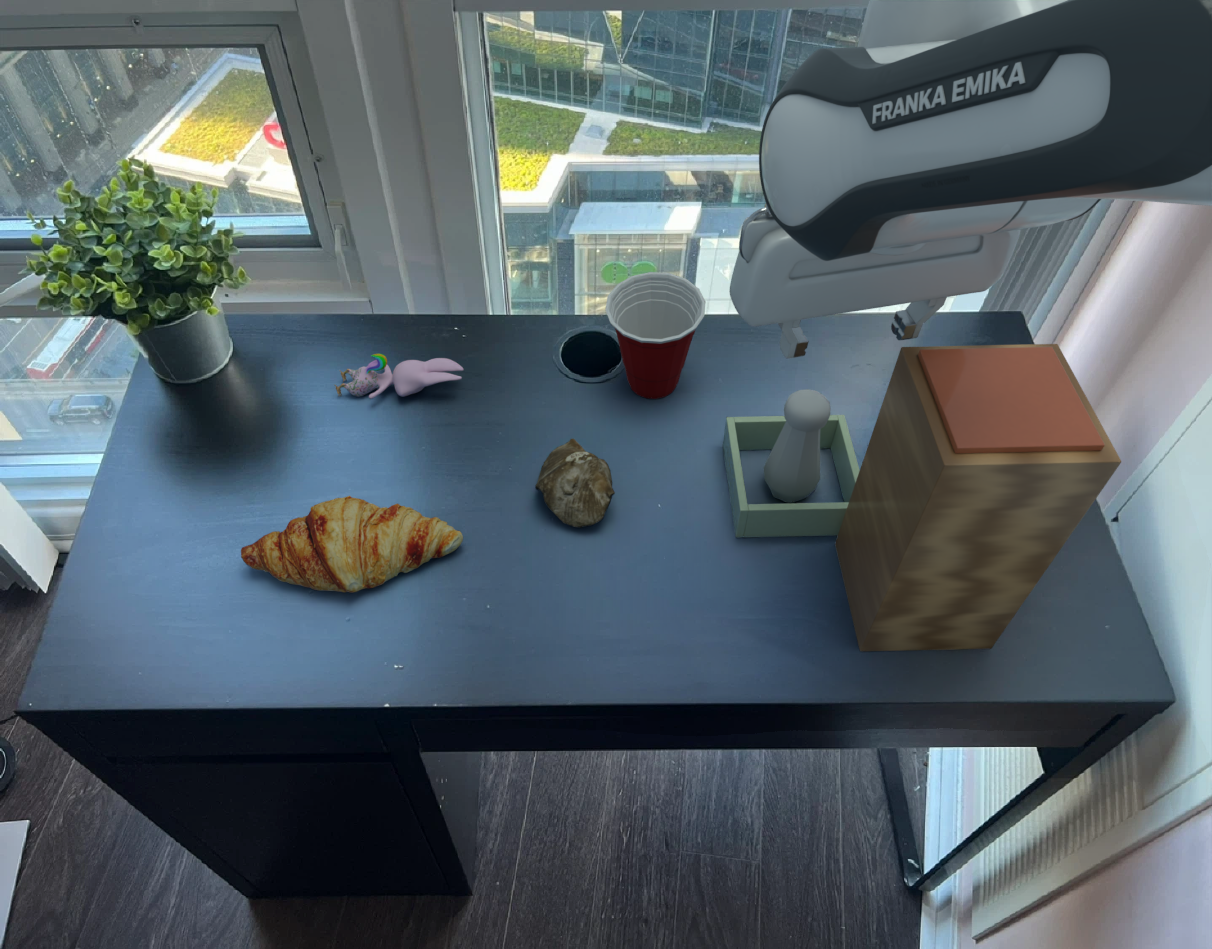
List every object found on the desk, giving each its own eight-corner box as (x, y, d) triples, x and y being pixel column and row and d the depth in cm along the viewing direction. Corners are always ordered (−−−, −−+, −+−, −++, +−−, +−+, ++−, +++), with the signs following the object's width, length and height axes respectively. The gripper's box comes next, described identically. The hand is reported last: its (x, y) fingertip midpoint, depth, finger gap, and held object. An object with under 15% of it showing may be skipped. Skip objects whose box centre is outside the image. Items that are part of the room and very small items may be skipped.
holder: (836, 442, 93) (844, 414, 89) (860, 535, 85) (870, 507, 81) (722, 445, 93) (726, 416, 89) (735, 537, 85) (740, 510, 81)
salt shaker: (803, 518, 86) (827, 431, 76) (752, 496, 88) (768, 409, 78) (823, 479, 89) (849, 392, 80) (773, 459, 91) (792, 371, 81)
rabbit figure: (340, 415, 98) (463, 403, 96) (318, 378, 94) (446, 364, 92) (353, 378, 102) (470, 365, 100) (332, 341, 98) (455, 327, 96)
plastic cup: (594, 404, 97) (591, 323, 88) (622, 345, 104) (622, 264, 95) (684, 425, 95) (691, 344, 86) (708, 363, 101) (716, 282, 92)
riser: (954, 541, 84) (1057, 343, 64) (991, 649, 76) (1122, 461, 57) (834, 543, 84) (901, 346, 64) (859, 651, 76) (944, 465, 57)
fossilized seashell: (632, 510, 84) (608, 450, 92) (595, 474, 80) (573, 414, 87) (572, 550, 86) (554, 488, 93) (533, 517, 81) (517, 454, 89)
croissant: (468, 543, 89) (459, 473, 86) (466, 590, 80) (455, 513, 77) (261, 566, 87) (245, 495, 84) (234, 617, 77) (214, 539, 74)
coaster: (1049, 352, 64) (1052, 346, 63) (1101, 450, 57) (1105, 445, 57) (917, 354, 64) (919, 349, 63) (954, 453, 57) (957, 447, 57)
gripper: (762, 233, 52) (735, 392, 63) (1058, 192, 55) (984, 350, 66) (729, 178, 56) (709, 336, 67) (1007, 143, 59) (945, 300, 70)
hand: (847, 343), depth 66 cm, fingers open, 8 cm apart
